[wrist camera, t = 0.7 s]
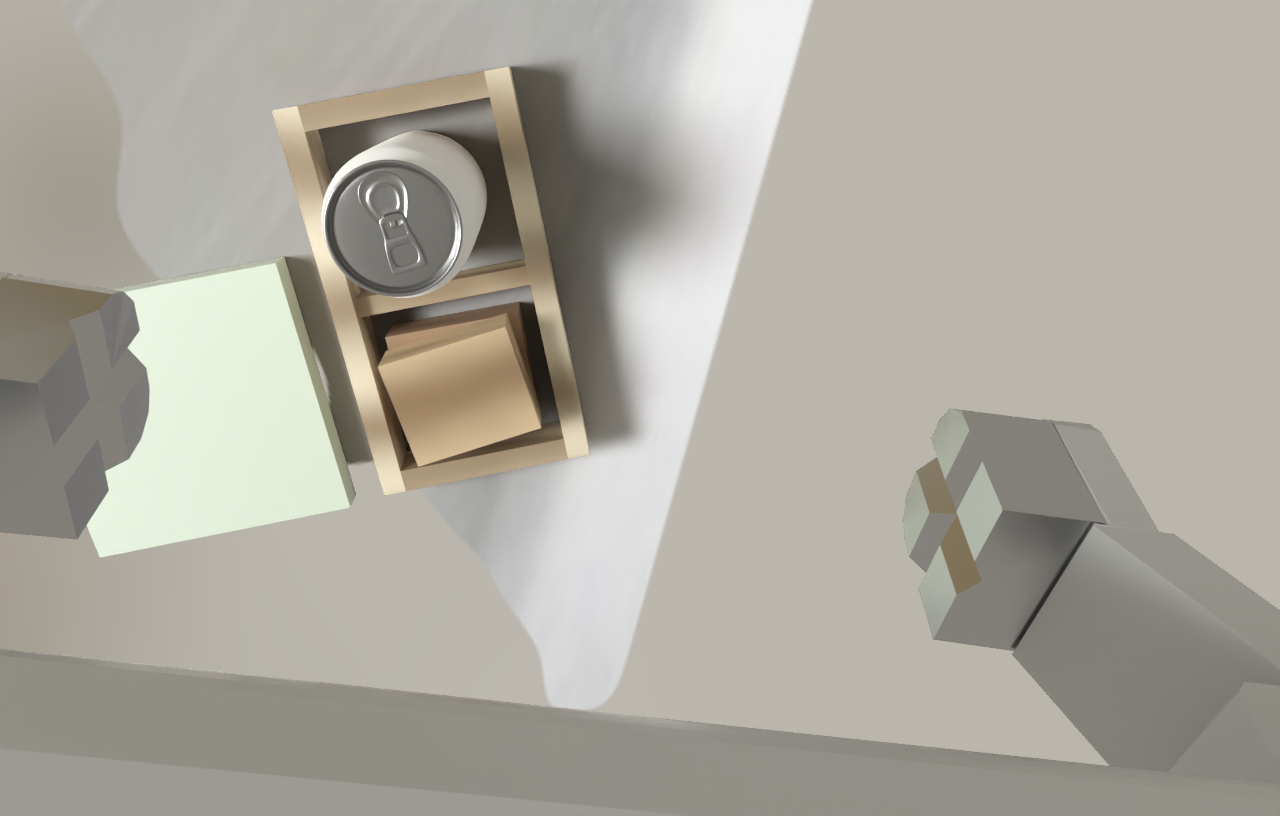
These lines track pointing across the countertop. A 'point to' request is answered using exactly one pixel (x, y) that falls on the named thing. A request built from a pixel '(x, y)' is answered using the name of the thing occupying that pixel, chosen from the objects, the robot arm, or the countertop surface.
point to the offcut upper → (461, 389)
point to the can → (405, 214)
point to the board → (223, 414)
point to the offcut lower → (445, 323)
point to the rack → (358, 304)
